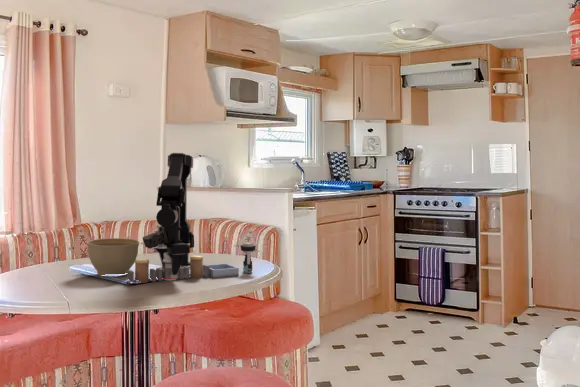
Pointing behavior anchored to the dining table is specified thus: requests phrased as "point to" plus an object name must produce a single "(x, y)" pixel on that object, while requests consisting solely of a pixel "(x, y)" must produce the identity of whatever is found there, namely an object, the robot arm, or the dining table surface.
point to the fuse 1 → (142, 270)
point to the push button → (247, 256)
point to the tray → (223, 270)
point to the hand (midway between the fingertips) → (169, 272)
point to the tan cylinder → (196, 266)
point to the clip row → (181, 273)
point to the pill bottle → (167, 268)
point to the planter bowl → (112, 255)
